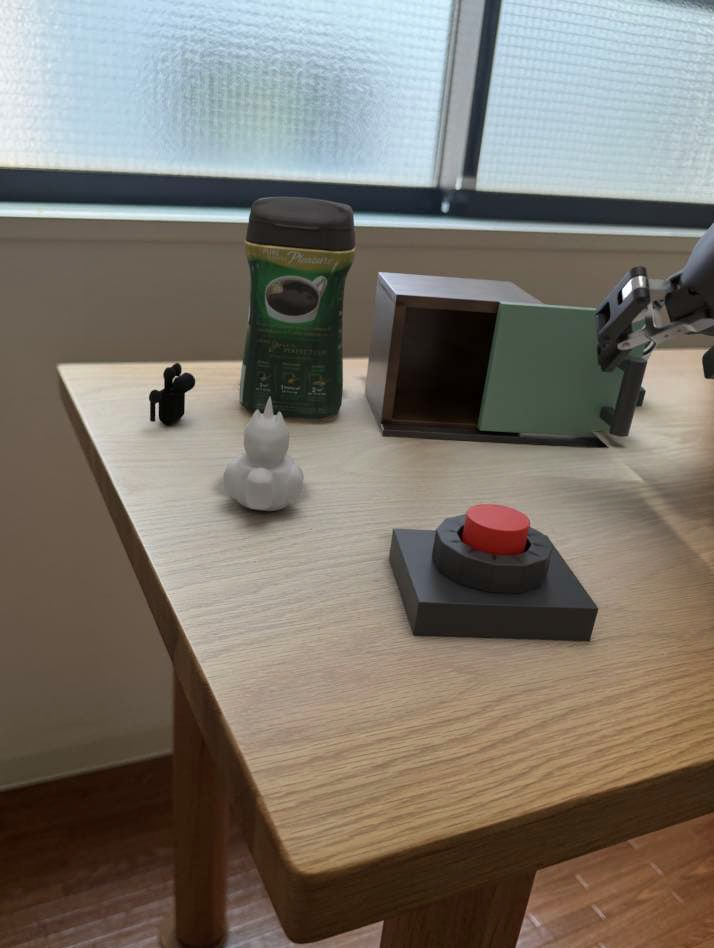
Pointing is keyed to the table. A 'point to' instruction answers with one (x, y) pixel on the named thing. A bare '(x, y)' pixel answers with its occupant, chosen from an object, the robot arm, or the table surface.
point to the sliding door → (556, 375)
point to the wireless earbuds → (171, 395)
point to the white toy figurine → (264, 465)
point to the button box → (488, 588)
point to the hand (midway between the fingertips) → (656, 365)
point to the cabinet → (440, 358)
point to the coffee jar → (296, 306)
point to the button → (496, 529)
